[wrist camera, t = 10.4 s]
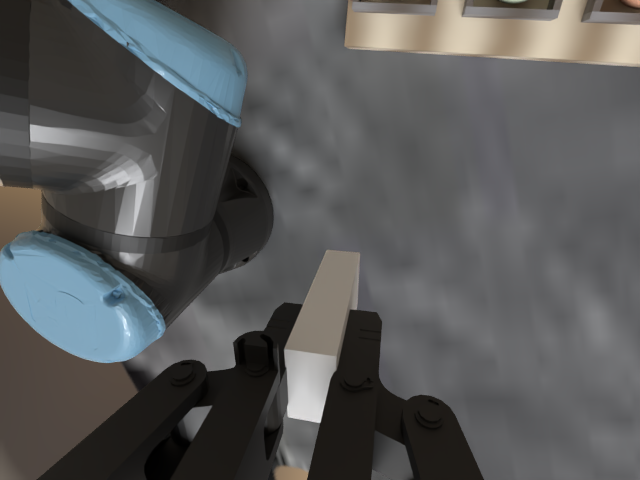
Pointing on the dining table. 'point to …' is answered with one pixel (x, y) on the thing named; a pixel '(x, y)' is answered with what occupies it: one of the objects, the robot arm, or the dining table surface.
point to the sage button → (512, 1)
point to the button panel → (499, 29)
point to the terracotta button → (632, 3)
